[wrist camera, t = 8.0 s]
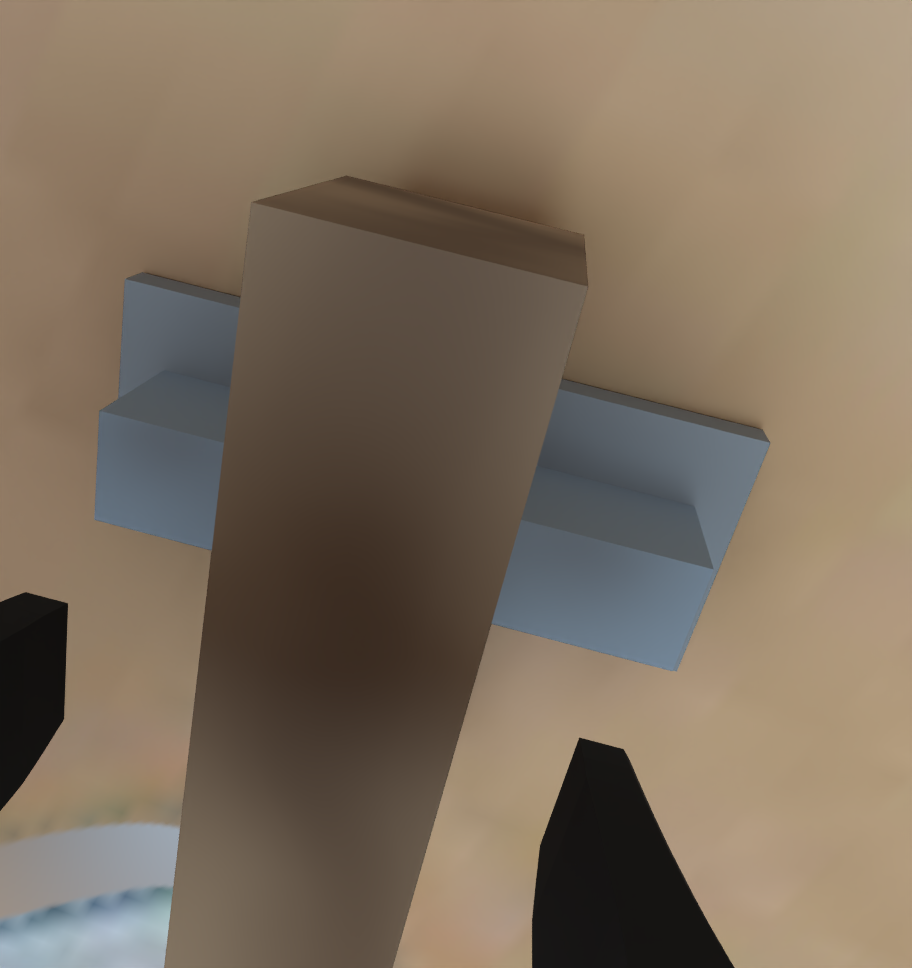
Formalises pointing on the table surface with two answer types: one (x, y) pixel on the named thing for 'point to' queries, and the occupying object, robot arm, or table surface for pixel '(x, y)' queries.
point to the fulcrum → (549, 507)
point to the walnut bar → (357, 557)
